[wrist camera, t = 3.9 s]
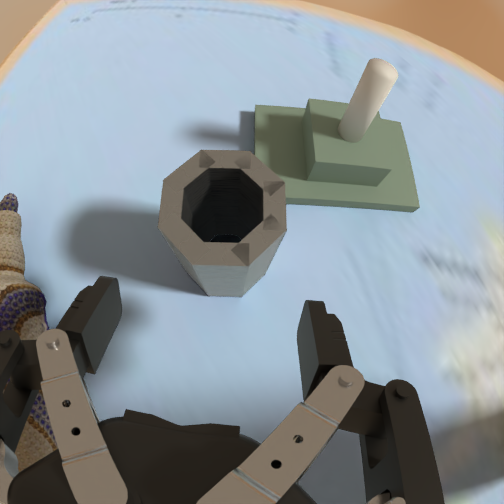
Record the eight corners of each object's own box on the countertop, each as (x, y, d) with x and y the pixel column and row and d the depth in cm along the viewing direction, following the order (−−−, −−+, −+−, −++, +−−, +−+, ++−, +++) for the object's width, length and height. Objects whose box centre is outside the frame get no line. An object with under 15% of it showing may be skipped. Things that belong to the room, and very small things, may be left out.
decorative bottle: (103, 498, 18) (71, 534, 12) (34, 488, 18) (-6, 513, 11) (63, 198, 25) (25, 161, 18) (2, 214, 24) (-40, 186, 18)
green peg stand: (395, 129, 28) (448, 52, 18) (413, 212, 26) (491, 148, 15) (254, 113, 28) (265, 13, 17) (253, 202, 25) (269, 109, 14)
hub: (264, 223, 25) (284, 152, 15) (264, 297, 23) (288, 267, 14) (190, 221, 25) (167, 149, 15) (186, 295, 23) (154, 264, 13)
